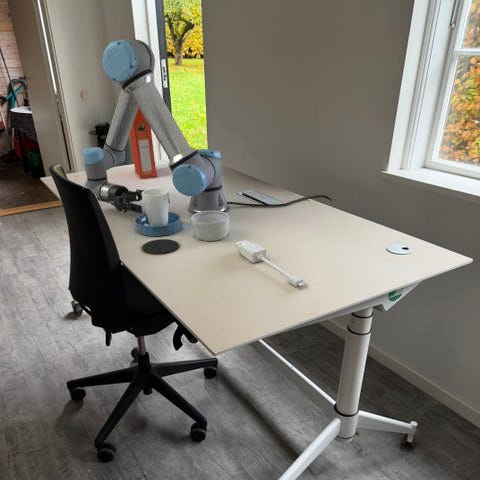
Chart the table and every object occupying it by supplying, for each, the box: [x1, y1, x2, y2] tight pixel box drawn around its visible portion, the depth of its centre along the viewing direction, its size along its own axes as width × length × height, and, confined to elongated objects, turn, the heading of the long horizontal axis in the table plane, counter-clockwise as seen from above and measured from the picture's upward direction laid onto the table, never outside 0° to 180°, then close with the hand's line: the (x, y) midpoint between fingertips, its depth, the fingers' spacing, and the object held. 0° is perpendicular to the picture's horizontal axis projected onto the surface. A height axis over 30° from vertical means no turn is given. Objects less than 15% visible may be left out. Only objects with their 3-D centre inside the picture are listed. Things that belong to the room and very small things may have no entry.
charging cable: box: [234, 239, 306, 287], centre depth 141 cm, size 5×32×3 cm, turn 32°
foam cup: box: [141, 187, 170, 226], centre depth 168 cm, size 10×9×13 cm
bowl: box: [134, 211, 182, 237], centre depth 170 cm, size 16×16×4 cm
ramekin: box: [190, 211, 230, 242], centre depth 162 cm, size 13×13×7 cm
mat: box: [141, 238, 179, 255], centre depth 156 cm, size 12×12×1 cm
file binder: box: [129, 107, 158, 180], centre depth 229 cm, size 8×17×32 cm, turn 20°
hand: (155, 204), depth 167 cm, fingers open, 13 cm apart
